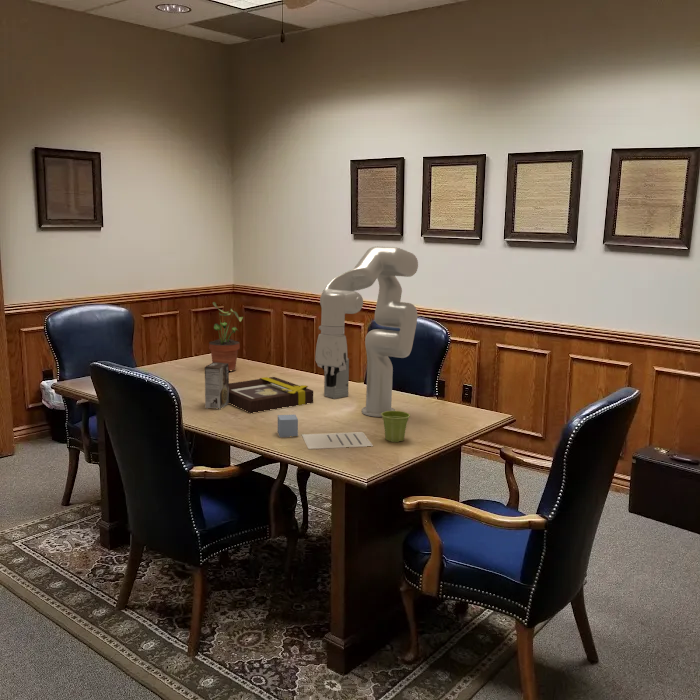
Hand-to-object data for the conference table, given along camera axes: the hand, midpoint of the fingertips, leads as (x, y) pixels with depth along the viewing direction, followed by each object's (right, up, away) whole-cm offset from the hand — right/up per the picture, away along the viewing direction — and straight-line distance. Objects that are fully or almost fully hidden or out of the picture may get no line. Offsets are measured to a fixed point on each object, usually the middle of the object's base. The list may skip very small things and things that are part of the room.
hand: (331, 386), depth 235 cm
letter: (+2, -18, 0) cm, 18 cm away
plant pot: (+21, -18, +3) cm, 28 cm away
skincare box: (0, -7, +58) cm, 59 cm away
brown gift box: (-28, -9, +49) cm, 57 cm away
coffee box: (-44, -10, +39) cm, 60 cm away
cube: (-15, -17, +6) cm, 23 cm away
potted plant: (-52, +2, +101) cm, 113 cm away
